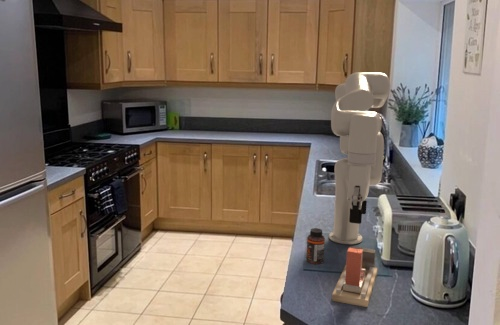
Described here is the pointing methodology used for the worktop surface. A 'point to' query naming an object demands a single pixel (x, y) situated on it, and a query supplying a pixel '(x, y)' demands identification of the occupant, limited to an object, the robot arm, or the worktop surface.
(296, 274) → the worktop surface
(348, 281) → the handle
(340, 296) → the base
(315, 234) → the supplement bottle
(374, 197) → the worktop surface
